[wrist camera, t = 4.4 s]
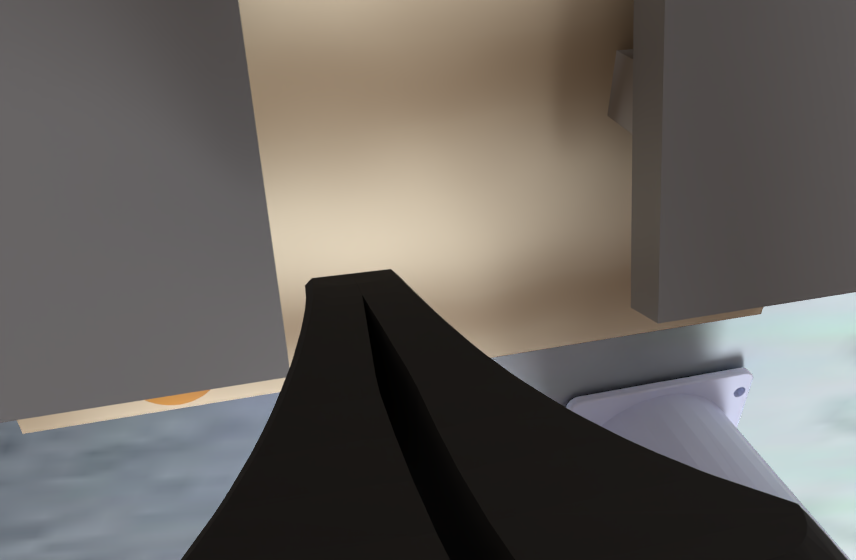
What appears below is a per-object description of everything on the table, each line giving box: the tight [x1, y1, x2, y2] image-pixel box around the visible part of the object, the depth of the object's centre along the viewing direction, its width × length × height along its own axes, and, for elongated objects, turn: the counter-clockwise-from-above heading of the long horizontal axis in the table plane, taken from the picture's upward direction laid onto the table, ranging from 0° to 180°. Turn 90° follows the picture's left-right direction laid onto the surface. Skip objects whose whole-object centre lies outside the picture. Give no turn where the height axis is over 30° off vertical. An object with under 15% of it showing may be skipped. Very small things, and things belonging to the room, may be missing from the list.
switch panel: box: [17, 0, 763, 434], centre depth 17 cm, size 16×22×5 cm
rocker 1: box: [0, 0, 290, 423], centre depth 12 cm, size 9×6×1 cm, turn 0°
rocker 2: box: [631, 0, 856, 324], centre depth 15 cm, size 9×6×1 cm, turn 0°
